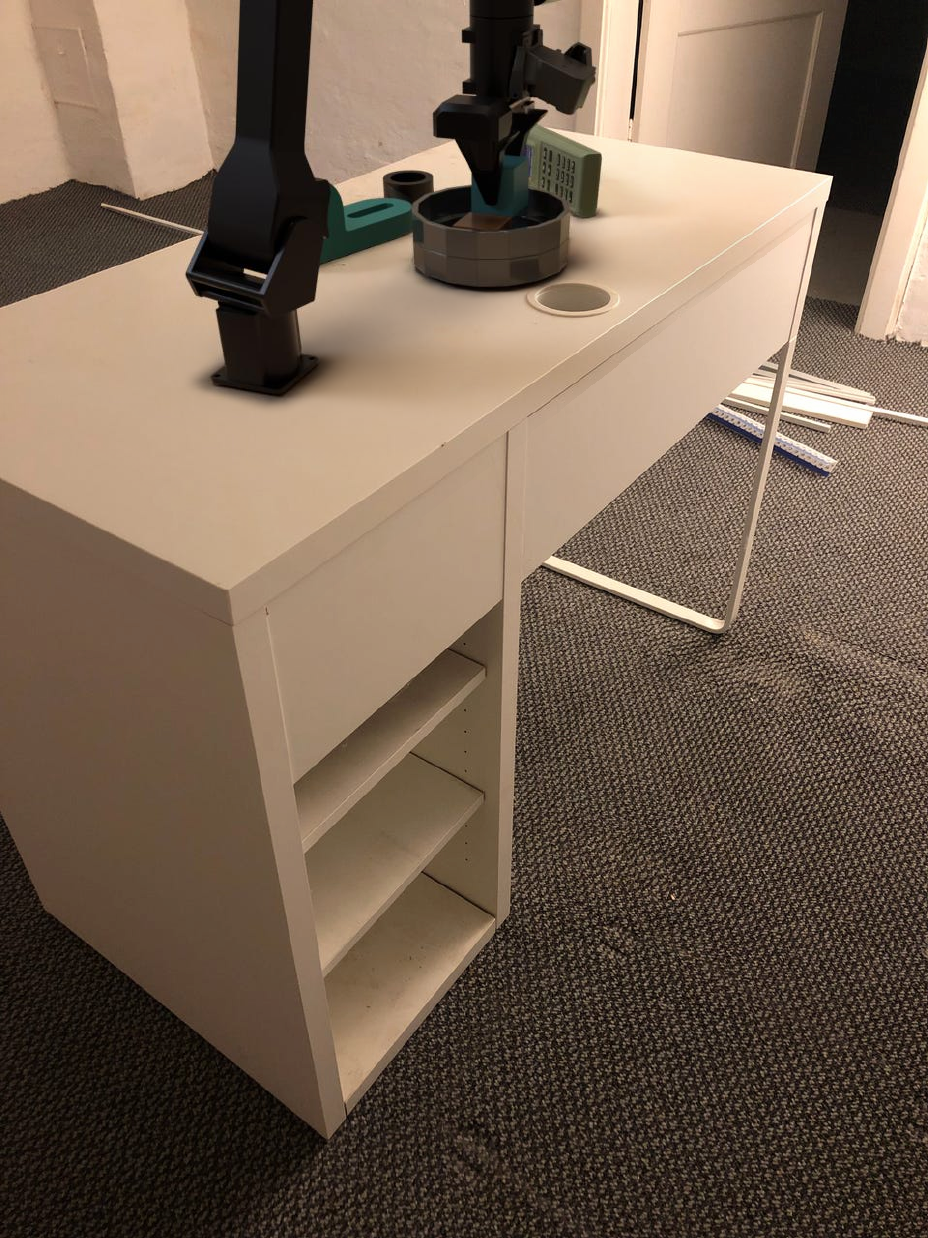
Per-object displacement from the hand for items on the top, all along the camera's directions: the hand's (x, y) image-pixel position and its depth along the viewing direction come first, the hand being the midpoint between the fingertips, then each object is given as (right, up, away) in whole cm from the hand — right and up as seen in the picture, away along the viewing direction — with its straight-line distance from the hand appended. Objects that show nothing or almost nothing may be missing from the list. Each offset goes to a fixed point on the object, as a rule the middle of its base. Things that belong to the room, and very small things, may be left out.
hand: (499, 197), depth 98 cm
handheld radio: (+5, +10, +22) cm, 25 cm away
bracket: (-16, -2, +7) cm, 18 cm away
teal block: (0, -1, +1) cm, 1 cm away
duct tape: (-10, +7, +17) cm, 21 cm away
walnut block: (-2, -7, 0) cm, 7 cm away
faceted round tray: (-1, -6, +2) cm, 6 cm away
